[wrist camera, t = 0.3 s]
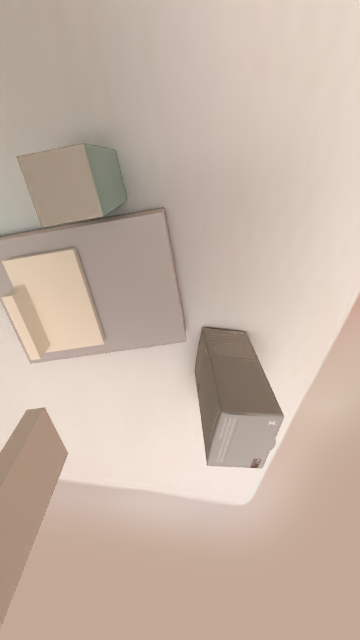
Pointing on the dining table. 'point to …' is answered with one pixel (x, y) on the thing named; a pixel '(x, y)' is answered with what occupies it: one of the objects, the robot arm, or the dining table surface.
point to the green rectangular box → (73, 183)
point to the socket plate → (114, 278)
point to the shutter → (51, 303)
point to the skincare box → (234, 401)
